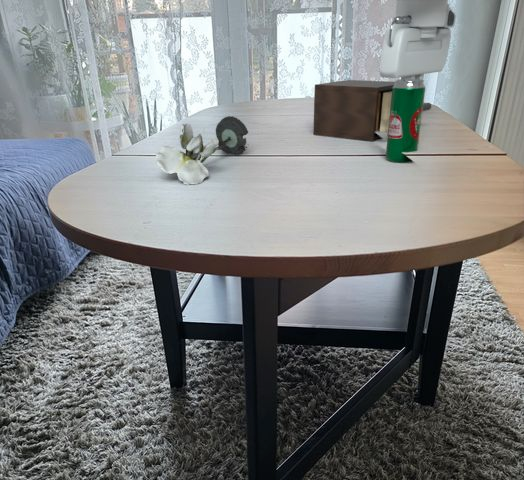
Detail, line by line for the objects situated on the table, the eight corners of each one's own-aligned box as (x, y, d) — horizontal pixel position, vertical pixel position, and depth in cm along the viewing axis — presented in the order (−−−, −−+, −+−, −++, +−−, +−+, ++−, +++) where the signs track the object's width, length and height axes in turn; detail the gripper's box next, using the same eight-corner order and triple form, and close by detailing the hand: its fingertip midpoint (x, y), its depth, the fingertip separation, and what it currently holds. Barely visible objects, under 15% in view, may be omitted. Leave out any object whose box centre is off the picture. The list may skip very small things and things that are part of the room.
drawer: (433, 131, 104) (439, 88, 99) (406, 139, 96) (411, 94, 92) (356, 124, 114) (359, 85, 110) (327, 131, 107) (329, 90, 103)
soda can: (380, 158, 87) (387, 79, 81) (407, 156, 88) (416, 78, 82) (393, 164, 83) (402, 81, 77) (421, 161, 84) (432, 80, 78)
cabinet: (403, 132, 108) (409, 82, 103) (372, 141, 100) (377, 87, 95) (345, 127, 117) (348, 79, 112) (313, 134, 109) (314, 84, 104)
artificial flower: (258, 163, 92) (268, 106, 85) (191, 211, 77) (196, 147, 70) (216, 146, 94) (222, 89, 87) (142, 190, 78) (142, 125, 71)
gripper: (409, 15, 83) (398, 108, 90) (459, 16, 96) (446, 97, 103) (375, 16, 86) (367, 105, 93) (428, 17, 99) (418, 95, 106)
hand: (409, 101), depth 98 cm, fingers closed
